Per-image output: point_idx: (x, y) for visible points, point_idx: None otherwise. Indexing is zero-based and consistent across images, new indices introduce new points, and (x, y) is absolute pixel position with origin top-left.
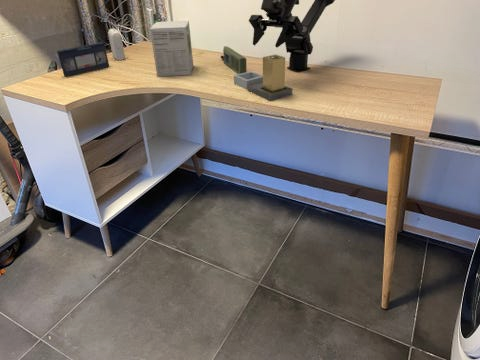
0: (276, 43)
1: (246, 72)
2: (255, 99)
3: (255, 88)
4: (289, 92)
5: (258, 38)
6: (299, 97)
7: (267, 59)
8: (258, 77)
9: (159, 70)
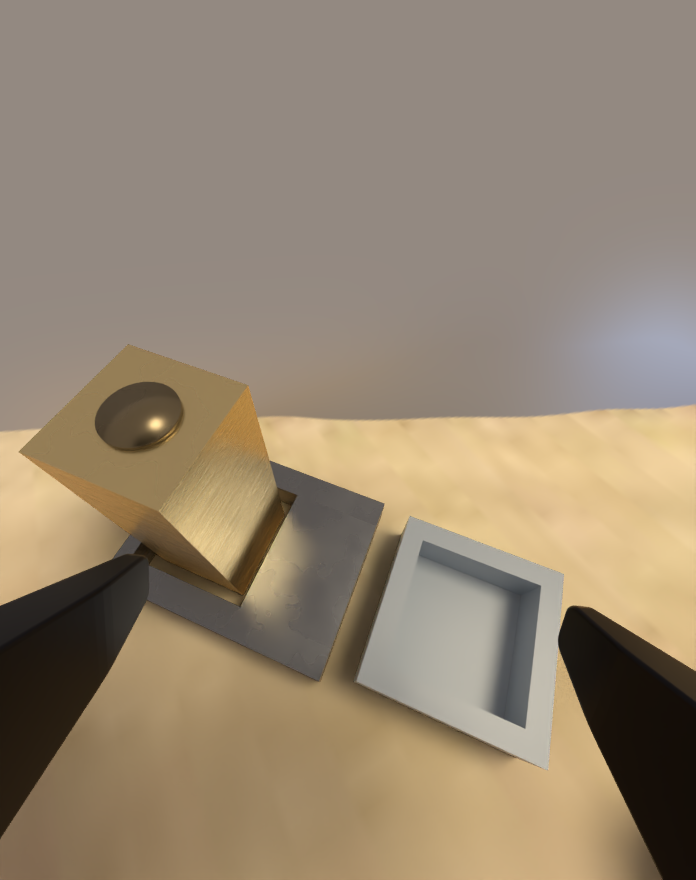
0: (116, 567)
1: (550, 694)
2: (285, 442)
3: (316, 480)
4: None
5: (672, 823)
6: (67, 564)
7: (189, 369)
8: (385, 617)
9: None
